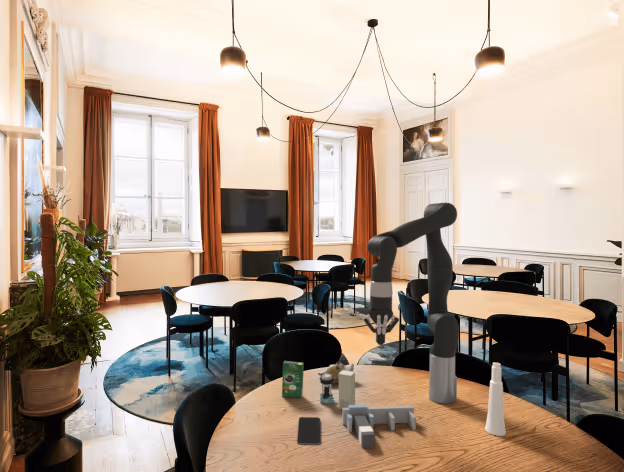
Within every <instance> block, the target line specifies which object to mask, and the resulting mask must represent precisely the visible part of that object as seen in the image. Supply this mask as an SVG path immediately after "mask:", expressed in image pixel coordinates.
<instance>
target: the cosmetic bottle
mask: <svg viewBox="0 0 624 472" xmlns="http://www.w3.org/2000/svg"><path fill="white" fill-rule="evenodd" d="M487 406H488V407H487V415H486V421H485V422H486V423H485V426H484V427H485V428H484V430H485V431H486V432H487V433H488V434H489V435H492V436H495V435H496V437H503V436H505V435H506V434H507V431H506V425H505V412H504V387H503V381H502V366H501V363H499V362H492V365H491V379H490V381H489V391H488V405H487Z"/></svg>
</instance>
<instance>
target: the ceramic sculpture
mask: <svg viewBox="0 0 624 472" xmlns="http://www.w3.org/2000/svg"><path fill="white" fill-rule="evenodd" d="M354 365H355V364H354V363H350V364H347V365H344V364H343V363H342V362H339V361H336V363H334V364H329V366H328V367H327V369H326V371H324V372H321V373H320V372H318V373H317V375H318V376H320V377H321V376H322V375H323V374H331V375H332V377H334V380H333V384H335V383H339V373H340V372H341V371H342V370H345V371H351V372H354V371H355V370H354Z"/></svg>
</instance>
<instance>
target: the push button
mask: <svg viewBox="0 0 624 472" xmlns="http://www.w3.org/2000/svg"><path fill="white" fill-rule="evenodd" d="M333 380H334V377H332V375H331V374H323V375H322V376H320V377H319V381H320V384H321V392H320V394H319V395H320V397H319V401H320V404H334V402H335V403H336V402H338V398H337V397H334V394H333V393H332V387H333V386H332V385H333V384H334V383H333Z"/></svg>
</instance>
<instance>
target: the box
mask: <svg viewBox="0 0 624 472" xmlns="http://www.w3.org/2000/svg"><path fill="white" fill-rule="evenodd" d="M348 405H356V371H353V372H351V371H345V370H342V371H341V372H340V373H339V382H338V410H339V409H340V410H342V408H348Z"/></svg>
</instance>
